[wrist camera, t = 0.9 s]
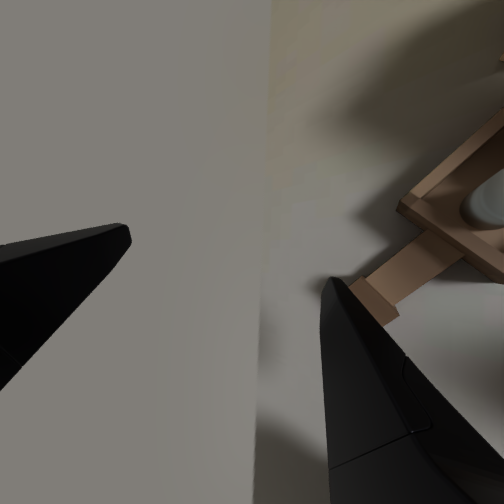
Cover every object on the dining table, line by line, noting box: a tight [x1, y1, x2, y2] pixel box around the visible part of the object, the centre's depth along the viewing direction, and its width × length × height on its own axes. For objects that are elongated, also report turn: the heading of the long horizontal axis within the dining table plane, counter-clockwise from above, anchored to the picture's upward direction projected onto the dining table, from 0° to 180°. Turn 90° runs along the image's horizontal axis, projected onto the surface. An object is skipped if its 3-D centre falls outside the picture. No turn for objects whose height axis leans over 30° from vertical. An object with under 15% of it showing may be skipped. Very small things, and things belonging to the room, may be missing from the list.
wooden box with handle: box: [348, 107, 504, 327], centre depth 11 cm, size 16×7×5 cm, turn 133°
